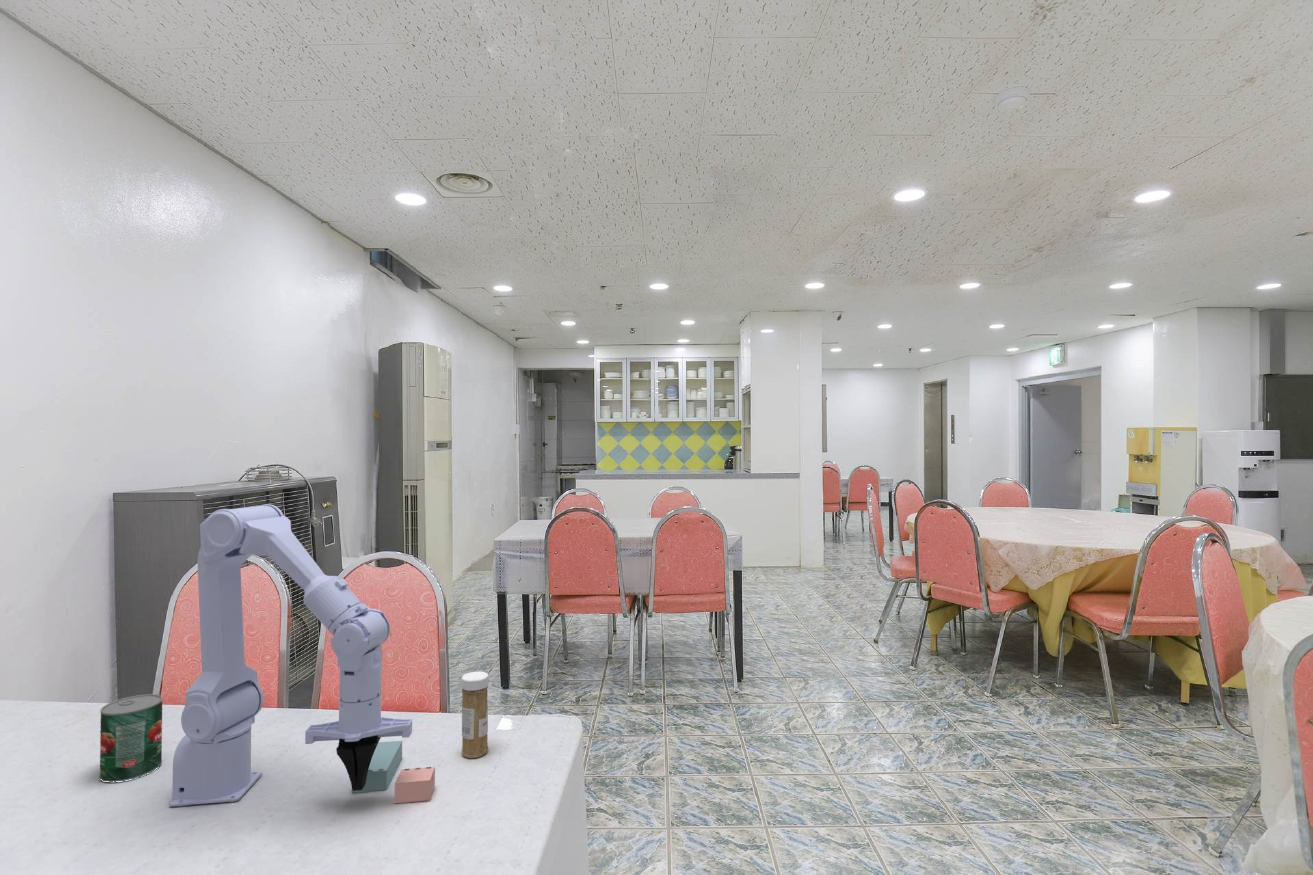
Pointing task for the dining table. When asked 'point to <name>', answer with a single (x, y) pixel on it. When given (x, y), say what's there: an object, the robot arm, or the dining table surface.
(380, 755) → the teal elongated prism
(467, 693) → the sprinkles bottle
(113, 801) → the dining table surface
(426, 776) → the stub
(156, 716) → the canned tomato
